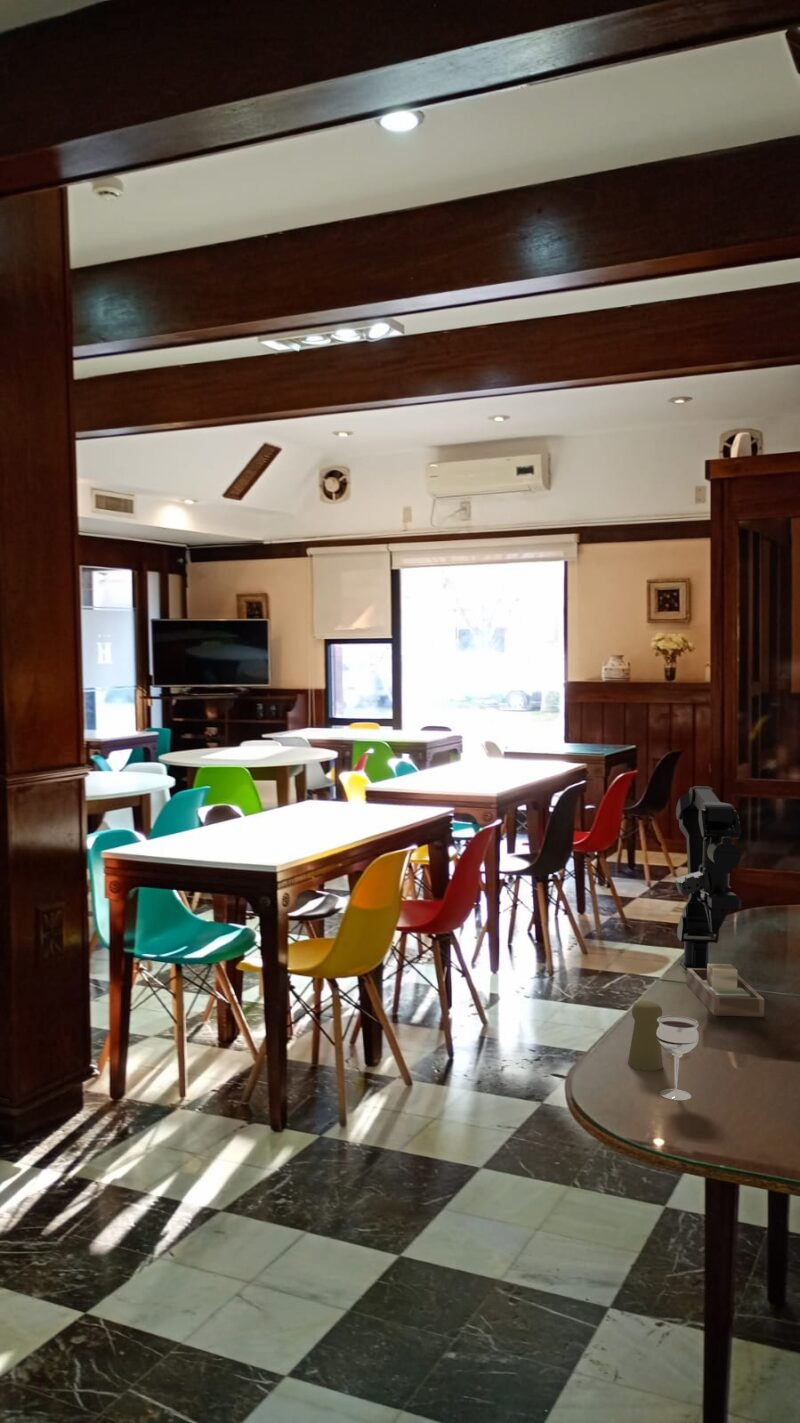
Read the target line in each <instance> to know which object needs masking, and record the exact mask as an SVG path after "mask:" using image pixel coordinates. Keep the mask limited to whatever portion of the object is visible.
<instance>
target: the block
mask: <svg viewBox="0 0 800 1423" xmlns="http://www.w3.org/2000/svg"><path fill="white" fill-rule="evenodd" d="M738 972H739V971H738V969H736V967H734V966H733V965H732V964H731V963H709V964H707V983H708V984H709V985H710V986H711V987H712V988H713V989H737V974H738Z"/></svg>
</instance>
